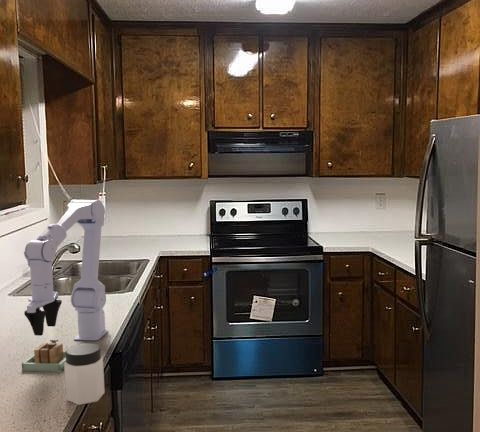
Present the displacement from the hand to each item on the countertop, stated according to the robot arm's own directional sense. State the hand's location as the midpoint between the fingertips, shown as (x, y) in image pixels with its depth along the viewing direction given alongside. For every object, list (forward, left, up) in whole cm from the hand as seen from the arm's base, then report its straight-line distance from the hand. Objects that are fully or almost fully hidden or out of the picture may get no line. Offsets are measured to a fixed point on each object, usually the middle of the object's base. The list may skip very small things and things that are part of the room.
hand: (45, 330), depth 151 cm
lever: (-9, -2, -9) cm, 13 cm away
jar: (+20, +20, -10) cm, 30 cm away
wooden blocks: (+1, +1, -9) cm, 9 cm away
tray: (+1, +1, -9) cm, 9 cm away
